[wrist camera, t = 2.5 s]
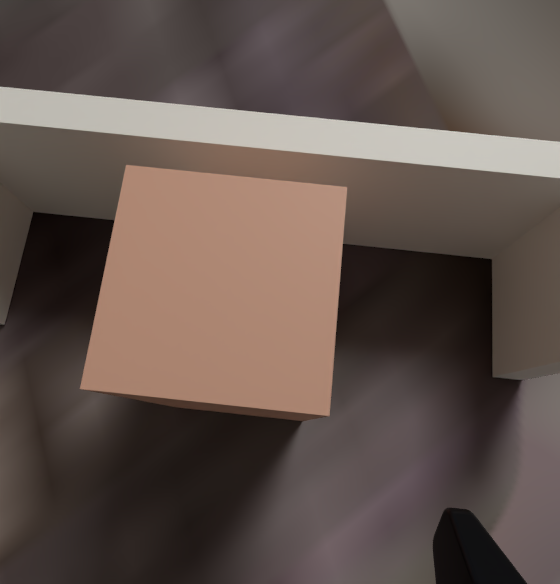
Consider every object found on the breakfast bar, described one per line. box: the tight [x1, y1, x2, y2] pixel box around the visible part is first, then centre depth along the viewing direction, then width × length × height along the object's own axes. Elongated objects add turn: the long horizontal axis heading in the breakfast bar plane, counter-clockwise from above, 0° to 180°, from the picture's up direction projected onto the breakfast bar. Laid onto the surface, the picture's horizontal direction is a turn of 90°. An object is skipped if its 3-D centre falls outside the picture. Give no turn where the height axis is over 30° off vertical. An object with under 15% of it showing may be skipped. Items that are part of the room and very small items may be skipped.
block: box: [80, 165, 347, 421], centre depth 15 cm, size 5×5×10 cm
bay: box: [0, 87, 560, 380], centre depth 18 cm, size 6×22×7 cm, turn 84°
